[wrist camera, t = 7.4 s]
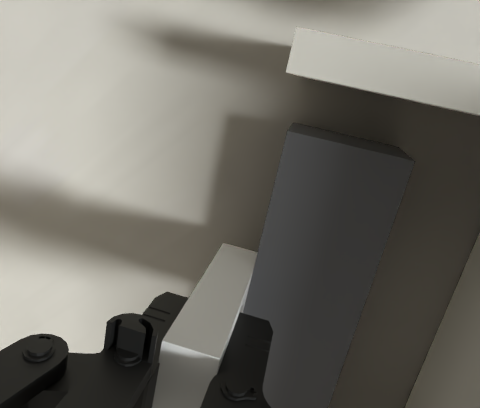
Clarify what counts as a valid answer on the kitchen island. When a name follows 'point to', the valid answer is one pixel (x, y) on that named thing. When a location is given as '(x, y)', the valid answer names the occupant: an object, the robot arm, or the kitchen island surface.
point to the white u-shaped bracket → (434, 94)
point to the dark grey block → (321, 256)
